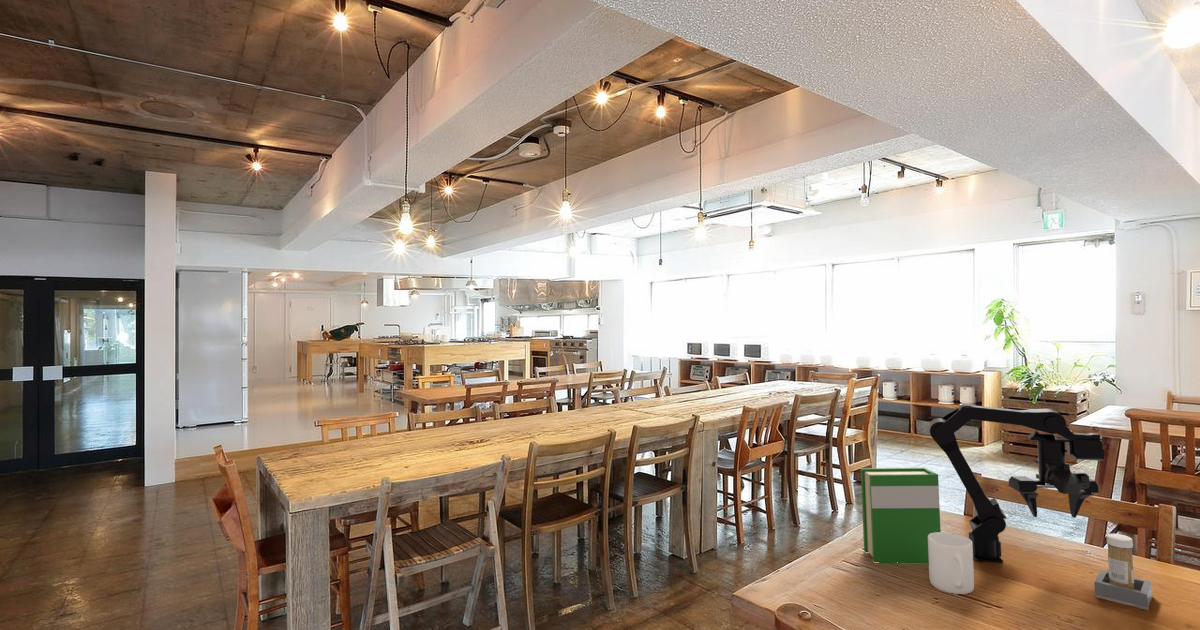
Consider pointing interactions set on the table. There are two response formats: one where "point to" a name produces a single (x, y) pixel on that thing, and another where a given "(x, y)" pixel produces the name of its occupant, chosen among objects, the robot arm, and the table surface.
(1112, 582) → the sprinkles bottle
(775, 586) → the table surface
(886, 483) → the hardback book
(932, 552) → the mug
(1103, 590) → the holder
